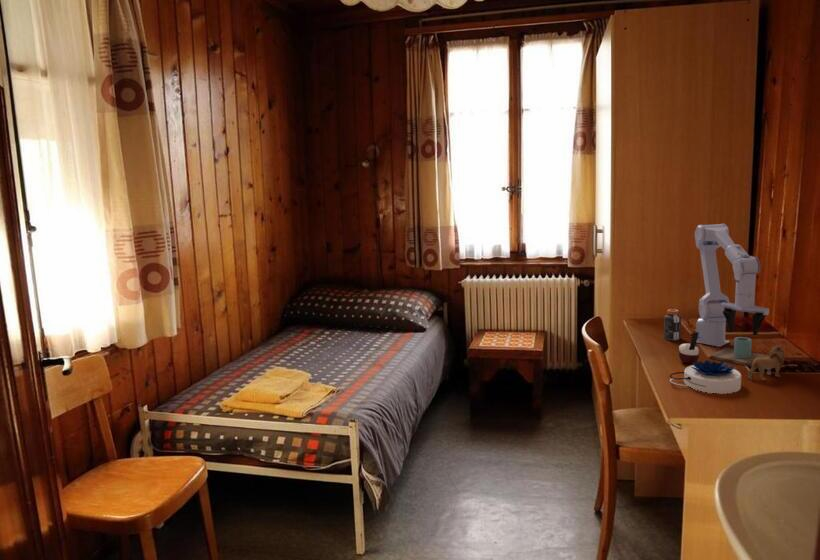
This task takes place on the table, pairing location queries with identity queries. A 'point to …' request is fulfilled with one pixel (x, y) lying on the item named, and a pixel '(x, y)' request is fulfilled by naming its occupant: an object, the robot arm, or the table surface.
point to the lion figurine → (768, 363)
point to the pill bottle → (672, 325)
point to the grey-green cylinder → (742, 347)
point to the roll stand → (728, 356)
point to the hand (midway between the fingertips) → (743, 332)
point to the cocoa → (689, 351)
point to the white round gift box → (711, 377)
